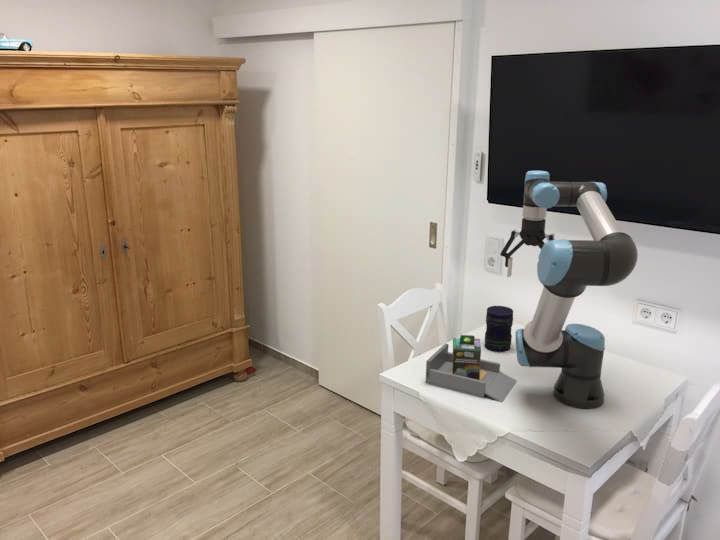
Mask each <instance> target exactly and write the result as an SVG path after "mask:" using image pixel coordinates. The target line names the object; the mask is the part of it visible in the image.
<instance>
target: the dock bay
mask: <svg viewBox="0 0 720 540" xmlns="http://www.w3.org/2000/svg"><path fill="white" fill-rule="evenodd" d="M425 364H426V365H425V367H426V369H425V384H428V383H429V384H428V385H432V384H433V386H436V387H437V386H438V387H440V388H444V389H445V388H446V389H448V390H453V391H457V392H460V393H463V394H464V393H465V394H469V395H473V396H477V397H481V398H485V396H487V397H489V398H490V399H494V401H496V402H499V403H503V402H504V400H505V399H506V398H507V396H508V395H509V394H510V391H512V389H513V388H514V386H515V385H516V383H517V381H518V380H516V379H515V378H513V377H511V376H509V375H507V374H506V373H503V372H501V363H500V362H495V361H493V360H492V361H491V360H487V359H482V358H481V359H480V380H476V379H472V378H468V377H464V376H460V375H455V374H452V365H453V352H450V351H449V343H444V344H443V345H442V346H441V347H440V348H439V349H437V351H435V352H434V353H433V354H432V355H431V356H430V357H428V359H427V360H426V363H425Z"/></svg>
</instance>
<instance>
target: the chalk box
mask: <svg viewBox="0 0 720 540" xmlns="http://www.w3.org/2000/svg"><path fill="white" fill-rule="evenodd" d="M481 346H482V345H481V339H480V338H475V335H470V334H469V335H468V334H460V335H459V337H458V338H457V337H454V338H452V353H453V365H452V374H455V375H460V376H464V377H468V378H472V379H476V380H480V359H482V358H481V357H482V356H481V355H482V347H481Z"/></svg>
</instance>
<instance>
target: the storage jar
mask: <svg viewBox="0 0 720 540" xmlns="http://www.w3.org/2000/svg"><path fill="white" fill-rule="evenodd" d="M513 321H514V309H513V308H511V307H508V306H504V305H491V306H489V307H487V308H486V315H485V323H486V329H485V333H484V348H485V349H487V351H491V352H493V353H506V351H507V352H509V351H510V350H511V348H512V347H511V346H512V338H513V336H512V326H513V324H514V322H513Z"/></svg>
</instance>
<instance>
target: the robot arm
mask: <svg viewBox="0 0 720 540" xmlns="http://www.w3.org/2000/svg"><path fill="white" fill-rule="evenodd" d="M523 190H524V192H523V205H522V217H523V218H522V219H521V227H520V231H519V230H517V229H513V230H512V231H511V233H510V237H509V239H508V241H507V242H506V244H505V245H504V246H503V249H502V250H501V252H500V254H499V256H501V257H504V258H505V259H504V260H505V261H504V266H505V268H507V272H506V273H507V274H506V278H510V277H512V273H513V272H512V271H513V259H514V258H513V257H512V256H513V255H514V253H515V252H517V250H519V249H520V248H521V247H522V246H523V245H526V246H532V247H538V248H539V249H540V252H539V254H538V261H537V266H536V271H537V278H538V281H539V282H540V284H542V285H543V288H542V292H541V295H540V296H539V297H540V298H539V299H538V303H537V306H536V309H535V312H534V315H533V317H532V320H531V321H529V322H528V323H527V324H526V325H525V326H524V328H519V329H516V331H515V350H516V358H517V363H518V364H519V366H521V367H527V368H553V369H554V368H555V369H556V368H557V369H558V368H561V371H560V373H559V375H558V377H557V379H556V380H555V383H554V385H553V393H552V394H553V397H554V398H555V399H557V401H558V402H560V403H562V404H564V405H567V406H570V407H573V408H578V409H594V408H597V407H600V406H602V405H603V404H604V400H605V391H604V387H603V382H602V378H601V375H602V369H603V368H602V367H603V360H604V353H605V349H606V347H605V346H606V345H605V344H606V343H605V342H606V339H605V336H604V334H603V332H601V331H600V330H599V329H596V328H595V327H592V326H590V325H586V324H582V323H569V324H567V325H566V327H564V325H565V323H566V320H567V318H568V316H569V313H570V311H571V308H572V306H573V303H574V301H575V299H576V298H577V297H579V296H581V295H582V294H583V293H584V292H585V290H586V288H587V287H588V286H589V287H591V286H592V287H608V286H610V287H611V286H613V285H616V284H619V283H621V282H622V281H624V280H626V279H627V278H628V277H629V276H630V275H631V273H632V272H633V271H634V269H635V267H636V265H637V262H638V255H639V254H638V249H637V245H636V243H635V241H634V240H633V238H632V237H631V235H629V234H628V233H626V232H624V231H623V229H622V228H621V226H620V224H619V223H618V222H617V220H616V218H615V217H614V215H613V213H612V211H611V210H610V208H609V206H608V204H607V203H606V202H607V198H608V192H607V191H608V190H607V186H606V184H605V183H603V182H599V181H597V182H596V181H551V180H550V173H549V172H548V171H546V170H545V171H544V170H528V171H527V172H526V173H525V179H524V189H523ZM553 207H576V208H577V210H578V211H579V213H580V215H581V218H582V220H583V221H584V224H585V226H586V227H587V229H588V230H587V231H589V233H590V236H591V237H592V239H591V240H588V239H585V240H583V239H581V240H578V239H566V238H562V239H555V233H550V234H546V231H545V230H546V221H547V220H546V218H547V211H548V209H551V208H553ZM518 236H519V237H520V239H521V241H519V242H518V243H517V244H516V245H515V246H514V247H513V248H512V249H511V250H510V251H509V252H508V250H509V248H510V247H511V246H512V243H513V242H514V241H515V239H516V238H517V237H518ZM545 239H546V242H544V240H545ZM563 328H564V330H563Z"/></svg>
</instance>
